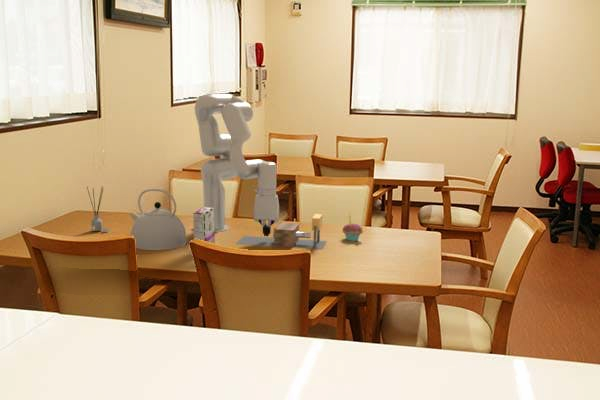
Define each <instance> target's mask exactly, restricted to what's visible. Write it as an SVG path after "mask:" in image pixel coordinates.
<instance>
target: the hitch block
mask: <svg viewBox="0 0 600 400" xmlns="http://www.w3.org/2000/svg"><path fill="white" fill-rule="evenodd" d="M274 228H275V229H274ZM274 228H273V232H274V246H273V247H277V246H284V247H283V248H292V247H294V246H295V244H296V243H297V241H298V240H299V239H300V238H296V232H300V223H295V222H280V221H279V222H278V225H277V226H276V227H274ZM320 238H321V229H320V230H319V231H317V226H314V230H313V240H314V241H313V248H316V241H317V242H320V241H321V239H320Z"/></svg>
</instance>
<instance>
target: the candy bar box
mask: <svg viewBox="0 0 600 400" xmlns="http://www.w3.org/2000/svg"><path fill="white" fill-rule="evenodd" d="M194 238H197V239H200V240H204V241H207V242H211V243H214V244H215V241H216V240H215V232H214V208H209V207H204V206H203V207H201V208H199V209H198V210H196V211H195V212H193V239H194Z"/></svg>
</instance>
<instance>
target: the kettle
mask: <svg viewBox="0 0 600 400" xmlns="http://www.w3.org/2000/svg"><path fill="white" fill-rule="evenodd" d="M147 192H162V193H164V194H166V195H168V196H169V197H170V199H171V200H172V203H173V207H174V208H173V209H174V210H173V212H172V211H170V210H167V209H161V206H162V204H161V202H158V201H156V202H155V203H154V208H155V209H150V210H147V211H145V212H144V211H143V209H142V206H141V198H142V196H143V194H145V193H147ZM137 204H138V208H139V211H140V213H141V215H139V214H138V213H136V212H132V213H130V214H129V216H130V217H131V219H132V220H133V221H134V222H133V225H132V226H131V229H130V235H133V236H134V237H135V239H136V248H135V249H138V250H148V251H163V250H165V249H166V250H172V249H177V248H180V246H181V247H182V245H183V246H185V245H186V244H187V233H186V228H185V225H184V223H183V222H182V220H181V219H180V217H178V216H177V215H176V212H177V203H176V200H175V198H174V196H173V195H172V194H171V193H170V192H169V191H166V190H164V189H160V188H159V189H158V188H149V189H146V190H143V191H141V193H140V194H139V196H138V200H137ZM185 243H186V244H185ZM184 244H185V245H184Z"/></svg>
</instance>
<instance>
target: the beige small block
mask: <svg viewBox="0 0 600 400" xmlns="http://www.w3.org/2000/svg"><path fill="white" fill-rule="evenodd" d="M314 226H317V231H319V230H320V231H321V229H322V227H323V214H322V213H314V215H313V216H312V217H311V231H314Z"/></svg>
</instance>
